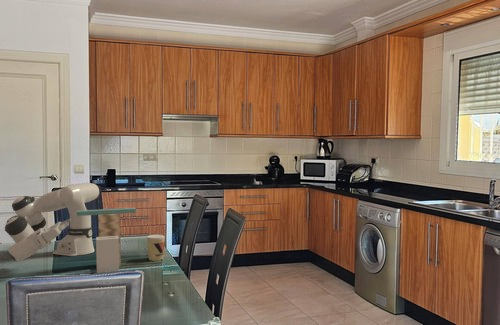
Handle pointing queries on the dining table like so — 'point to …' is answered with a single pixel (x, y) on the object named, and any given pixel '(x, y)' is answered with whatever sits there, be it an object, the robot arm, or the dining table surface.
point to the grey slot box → (107, 253)
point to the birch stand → (110, 227)
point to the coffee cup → (155, 247)
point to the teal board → (106, 211)
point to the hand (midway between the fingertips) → (69, 221)
